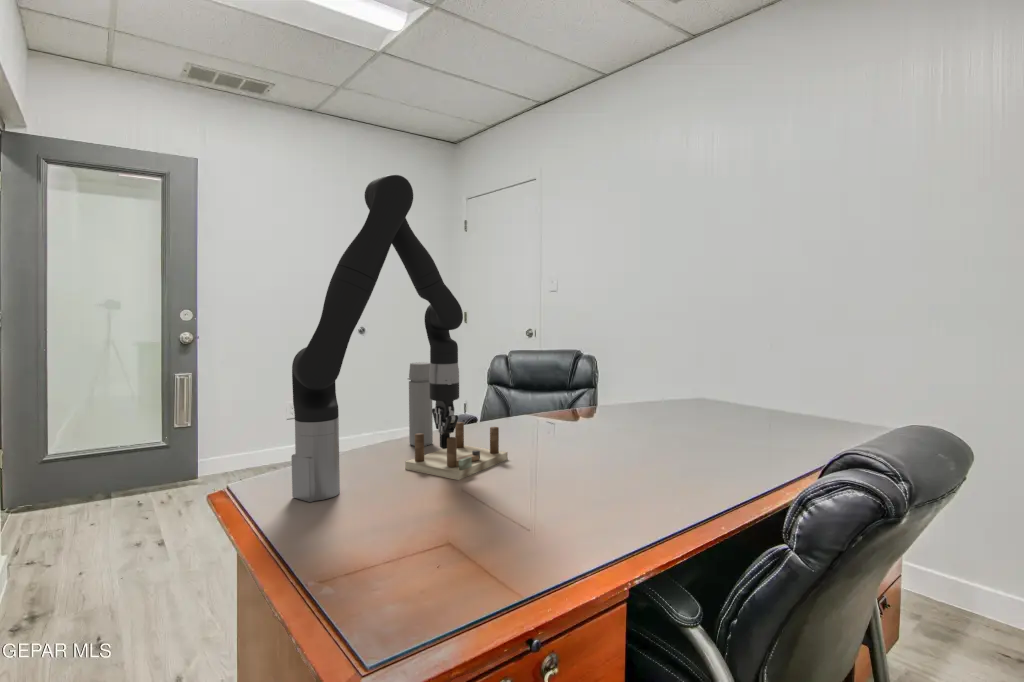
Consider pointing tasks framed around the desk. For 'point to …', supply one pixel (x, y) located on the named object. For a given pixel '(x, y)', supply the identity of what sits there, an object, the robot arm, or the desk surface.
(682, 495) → the desk surface
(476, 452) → the swing leg
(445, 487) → the desk surface
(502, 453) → the stool frame
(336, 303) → the robot arm
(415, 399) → the water bottle
